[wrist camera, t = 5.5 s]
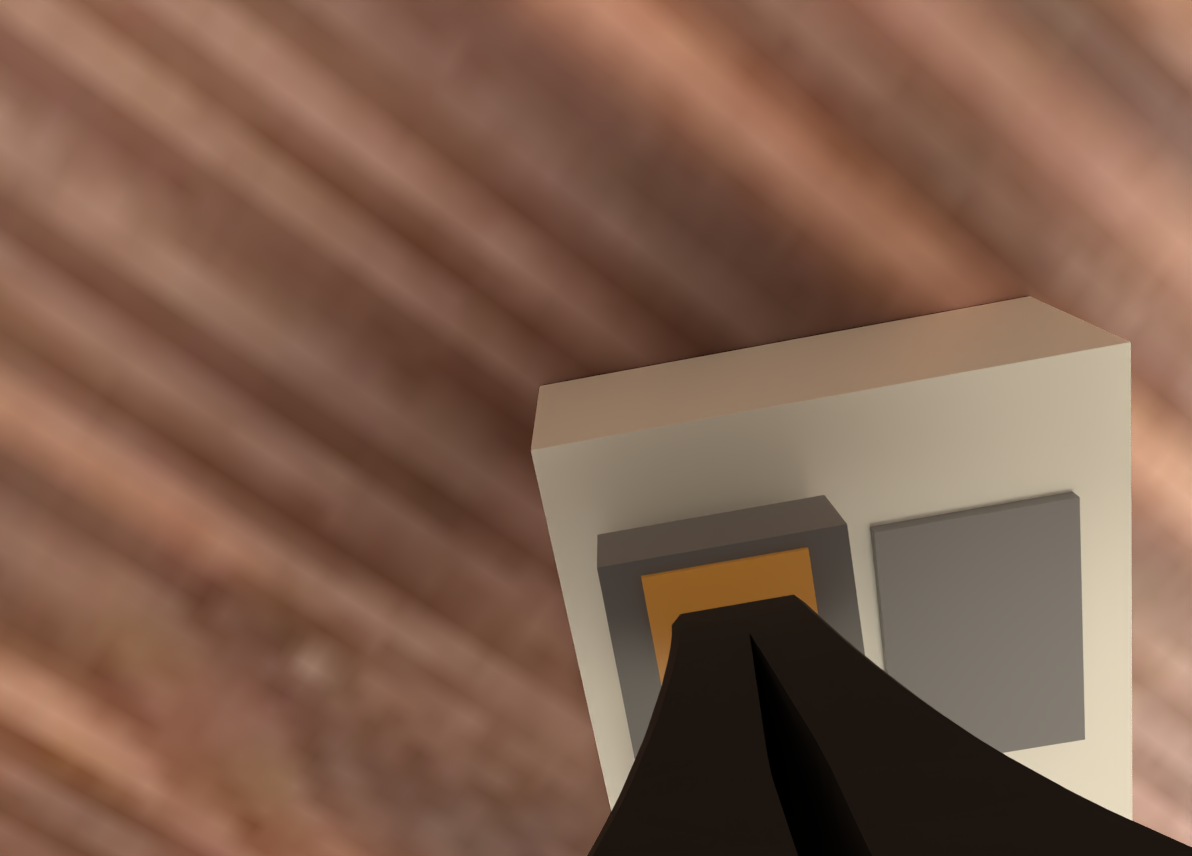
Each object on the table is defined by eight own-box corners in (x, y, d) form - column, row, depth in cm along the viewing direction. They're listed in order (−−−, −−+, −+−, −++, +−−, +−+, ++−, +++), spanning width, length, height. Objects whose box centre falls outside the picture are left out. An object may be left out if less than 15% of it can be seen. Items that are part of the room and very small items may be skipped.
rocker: (673, 922, 14) (680, 992, 13) (597, 534, 13) (596, 569, 11) (880, 890, 14) (907, 957, 13) (824, 494, 13) (848, 526, 11)
